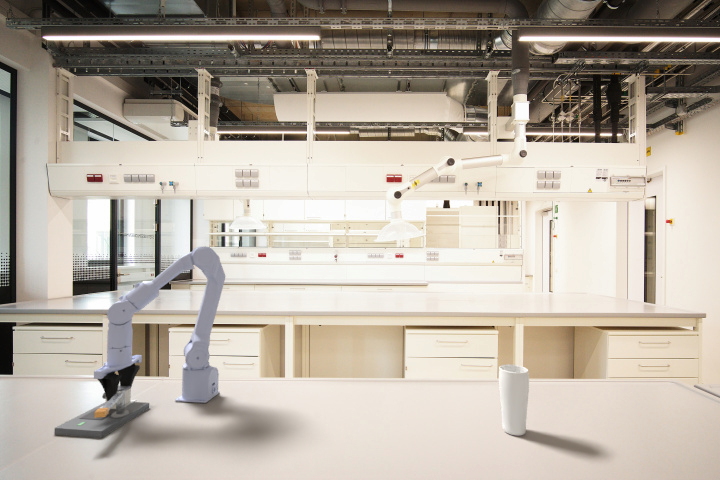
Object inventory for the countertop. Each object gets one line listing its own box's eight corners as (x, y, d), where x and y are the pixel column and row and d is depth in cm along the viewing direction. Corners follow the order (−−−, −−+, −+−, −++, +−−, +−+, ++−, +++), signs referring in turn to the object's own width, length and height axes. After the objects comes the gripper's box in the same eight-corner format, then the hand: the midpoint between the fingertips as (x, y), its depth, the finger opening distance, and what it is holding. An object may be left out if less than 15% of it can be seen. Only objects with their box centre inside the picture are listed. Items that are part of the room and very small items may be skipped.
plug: (130, 400, 101) (130, 386, 101) (119, 407, 97) (119, 391, 97) (110, 399, 102) (110, 385, 102) (98, 406, 98) (98, 390, 98)
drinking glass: (527, 427, 91) (527, 365, 92) (530, 440, 85) (530, 374, 85) (498, 422, 93) (498, 363, 94) (499, 435, 87) (499, 371, 88)
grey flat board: (151, 406, 101) (151, 399, 101) (101, 437, 85) (101, 428, 85) (111, 404, 103) (111, 396, 103) (54, 434, 86) (54, 425, 86)
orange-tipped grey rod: (117, 411, 93) (117, 389, 94) (126, 410, 94) (126, 388, 94) (93, 437, 80) (94, 412, 81) (104, 436, 81) (105, 411, 81)
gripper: (126, 339, 107) (125, 386, 107) (83, 352, 93) (81, 407, 93) (148, 340, 107) (147, 387, 106) (109, 353, 92) (107, 409, 92)
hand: (118, 397), depth 99 cm, fingers open, 4 cm apart
